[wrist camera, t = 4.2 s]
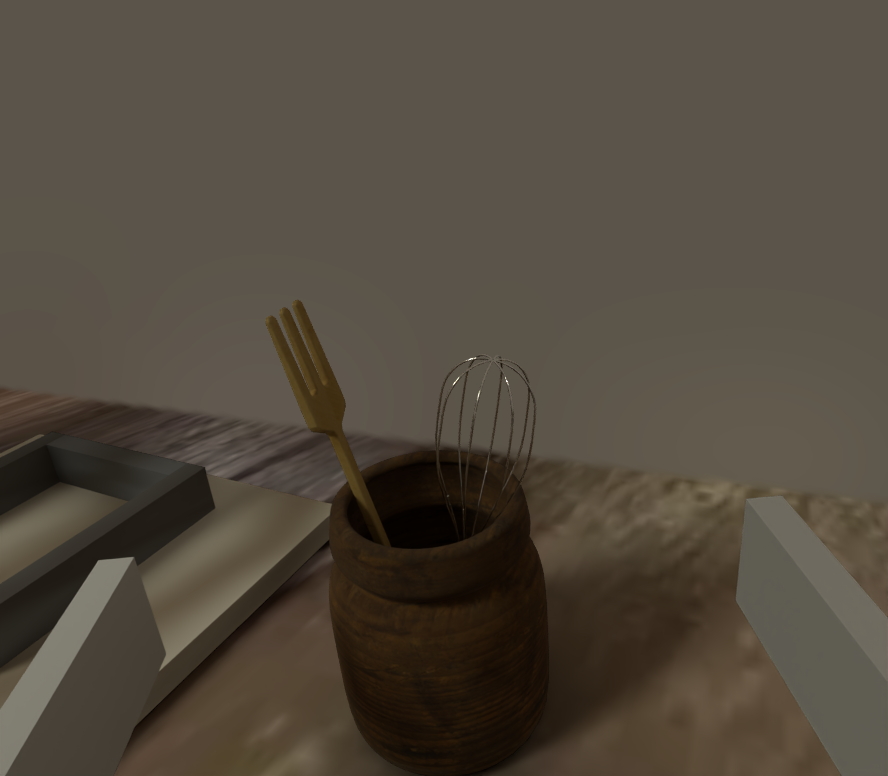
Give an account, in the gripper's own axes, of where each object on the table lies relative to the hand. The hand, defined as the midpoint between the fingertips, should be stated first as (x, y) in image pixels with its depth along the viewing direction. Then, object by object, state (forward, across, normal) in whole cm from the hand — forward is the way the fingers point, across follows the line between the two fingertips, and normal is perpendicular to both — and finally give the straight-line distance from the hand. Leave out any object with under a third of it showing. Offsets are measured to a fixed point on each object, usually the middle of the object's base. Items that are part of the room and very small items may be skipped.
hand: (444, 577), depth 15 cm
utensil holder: (+3, 0, -7) cm, 8 cm away
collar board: (+11, -17, -7) cm, 21 cm away
